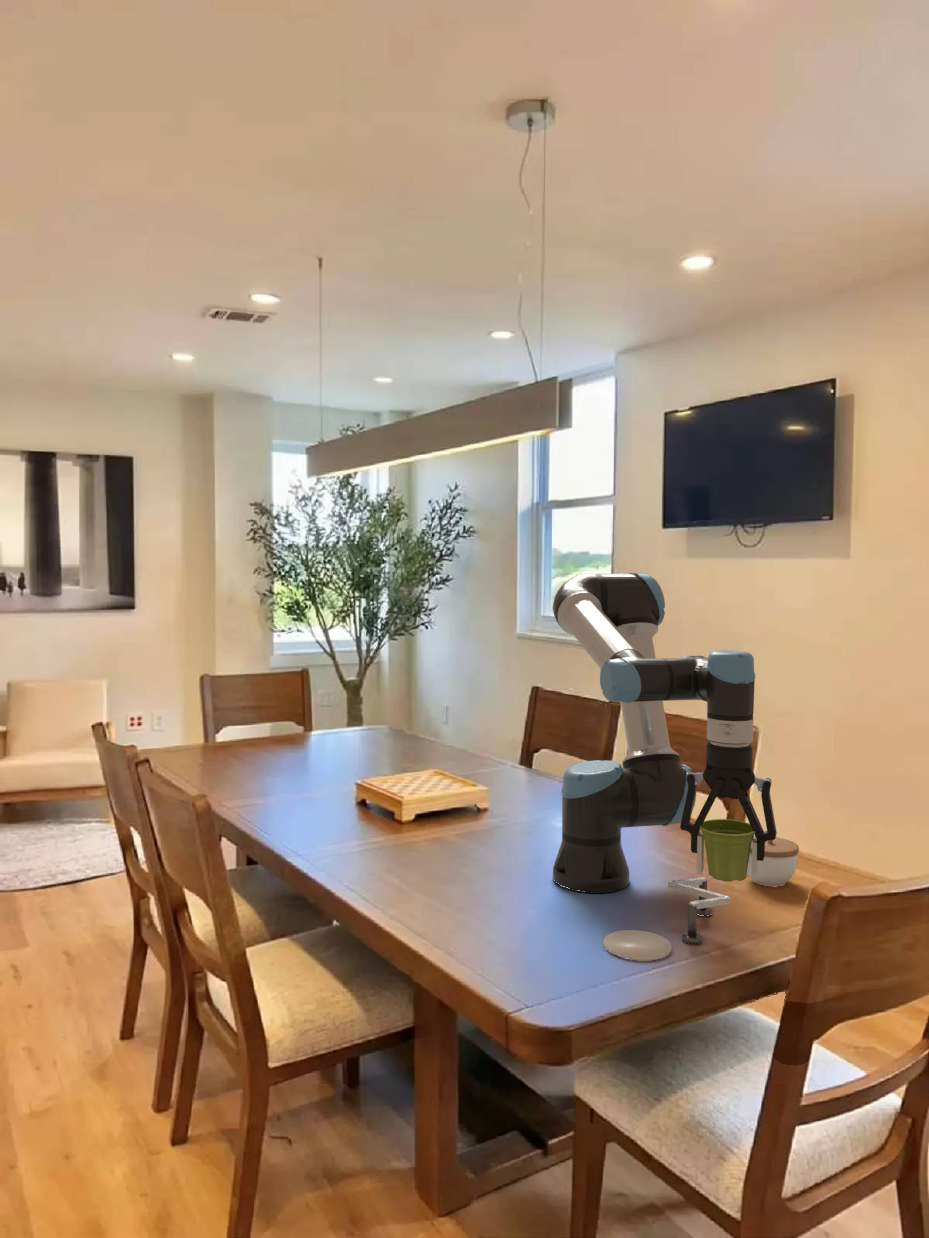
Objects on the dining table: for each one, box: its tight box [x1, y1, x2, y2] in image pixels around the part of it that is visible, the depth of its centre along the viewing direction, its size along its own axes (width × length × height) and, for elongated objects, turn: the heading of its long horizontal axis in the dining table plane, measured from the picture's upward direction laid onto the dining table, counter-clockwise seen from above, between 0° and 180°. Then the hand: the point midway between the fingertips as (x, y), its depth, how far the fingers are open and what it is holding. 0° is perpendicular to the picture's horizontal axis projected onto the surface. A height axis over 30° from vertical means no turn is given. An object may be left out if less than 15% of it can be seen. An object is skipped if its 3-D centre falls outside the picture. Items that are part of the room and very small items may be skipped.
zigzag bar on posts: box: [667, 876, 732, 945], centre depth 158 cm, size 11×16×7 cm
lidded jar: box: [747, 835, 800, 887], centre depth 181 cm, size 11×11×9 cm
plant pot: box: [700, 818, 755, 883], centre depth 154 cm, size 9×9×9 cm
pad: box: [603, 929, 672, 962], centre depth 150 cm, size 11×11×1 cm
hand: (726, 874), depth 155 cm, fingers closed on plant pot, 8 cm apart
